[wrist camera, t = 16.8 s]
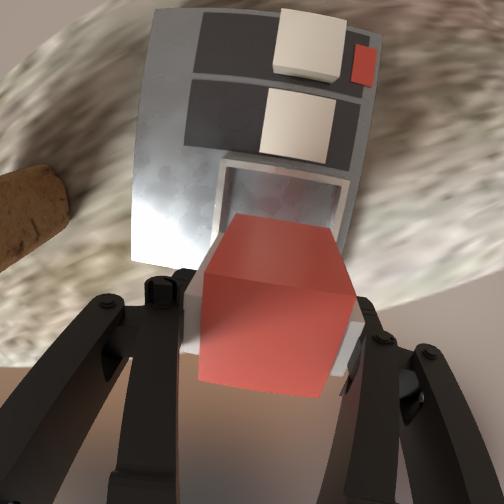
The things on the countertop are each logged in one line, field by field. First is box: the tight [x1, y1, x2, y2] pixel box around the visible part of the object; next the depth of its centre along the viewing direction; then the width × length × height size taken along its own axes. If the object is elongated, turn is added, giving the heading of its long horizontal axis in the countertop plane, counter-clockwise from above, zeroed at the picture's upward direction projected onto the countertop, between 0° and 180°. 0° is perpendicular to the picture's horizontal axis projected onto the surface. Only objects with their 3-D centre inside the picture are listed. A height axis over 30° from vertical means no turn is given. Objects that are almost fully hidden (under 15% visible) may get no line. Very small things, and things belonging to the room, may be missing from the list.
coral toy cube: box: [198, 213, 357, 398], centre depth 14 cm, size 5×5×7 cm
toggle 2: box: [259, 88, 336, 164], centre depth 19 cm, size 4×4×3 cm
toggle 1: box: [273, 8, 347, 83], centre depth 17 cm, size 4×4×3 cm
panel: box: [132, 8, 383, 270], centre depth 22 cm, size 17×21×4 cm
